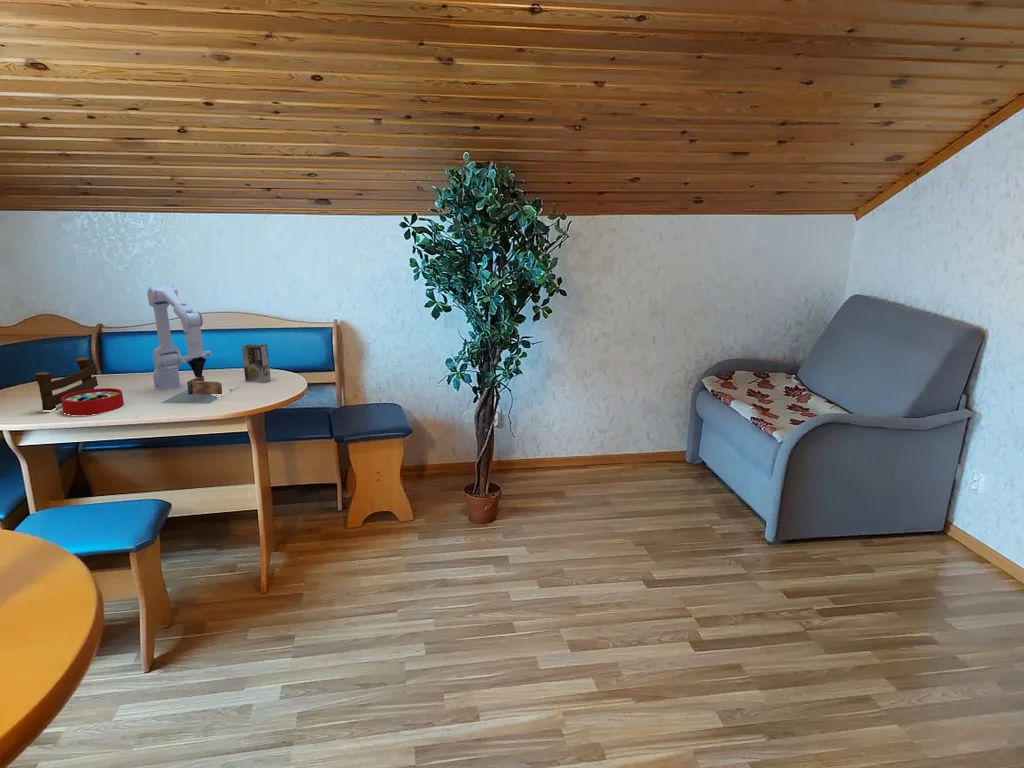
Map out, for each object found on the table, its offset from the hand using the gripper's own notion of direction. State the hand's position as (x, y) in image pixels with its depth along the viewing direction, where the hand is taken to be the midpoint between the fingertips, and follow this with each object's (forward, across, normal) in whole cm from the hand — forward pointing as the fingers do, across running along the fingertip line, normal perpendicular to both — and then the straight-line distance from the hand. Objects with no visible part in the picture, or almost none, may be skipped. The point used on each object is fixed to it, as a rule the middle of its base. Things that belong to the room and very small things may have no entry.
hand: (198, 376), depth 271 cm
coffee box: (+10, +33, -1) cm, 34 cm away
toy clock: (+10, -24, +30) cm, 39 cm away
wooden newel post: (+9, +6, +2) cm, 11 cm away
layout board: (+9, +5, +4) cm, 12 cm away
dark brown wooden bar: (+9, +9, +11) cm, 17 cm away
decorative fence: (+10, -19, +48) cm, 53 cm away
